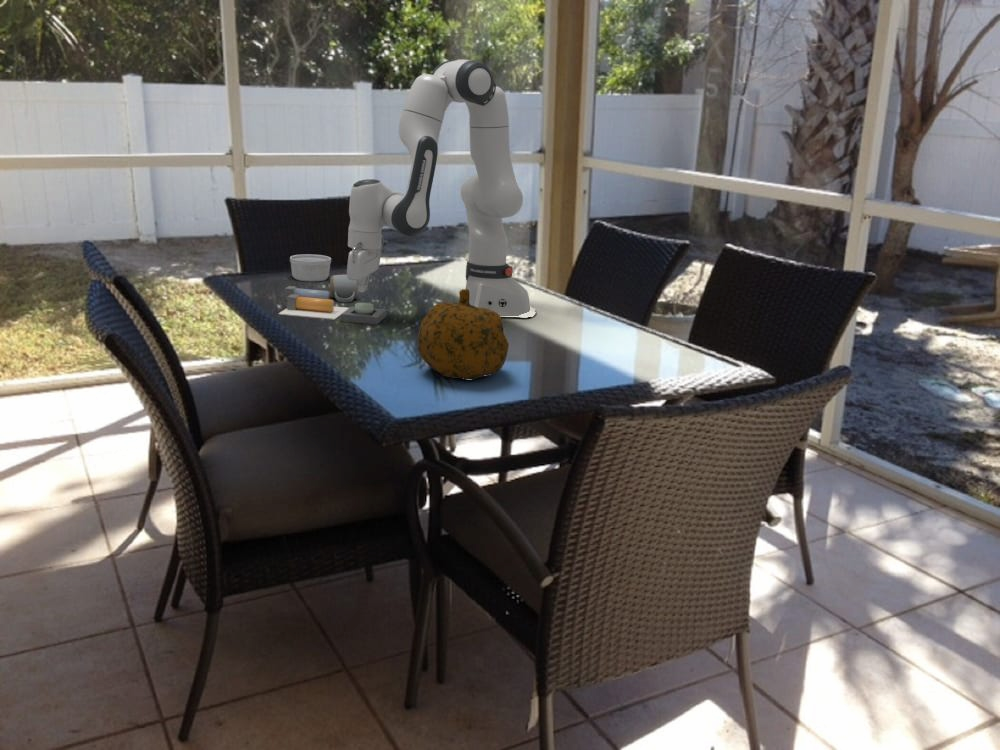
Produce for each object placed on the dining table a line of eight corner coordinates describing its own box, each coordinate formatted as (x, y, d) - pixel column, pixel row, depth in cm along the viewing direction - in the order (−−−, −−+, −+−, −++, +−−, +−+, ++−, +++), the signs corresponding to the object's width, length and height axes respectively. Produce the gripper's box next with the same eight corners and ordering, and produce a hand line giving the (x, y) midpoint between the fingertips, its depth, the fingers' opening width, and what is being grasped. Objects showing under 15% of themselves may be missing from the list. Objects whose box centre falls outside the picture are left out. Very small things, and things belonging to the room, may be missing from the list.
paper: (349, 308, 271) (349, 307, 271) (334, 319, 257) (334, 318, 257) (295, 303, 273) (295, 302, 272) (278, 314, 259) (278, 313, 259)
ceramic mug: (329, 295, 286) (329, 271, 284) (355, 295, 288) (356, 271, 286) (331, 303, 277) (332, 278, 275) (358, 303, 279) (359, 279, 276)
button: (375, 311, 262) (375, 303, 261) (370, 315, 257) (370, 307, 257) (357, 309, 263) (357, 302, 262) (352, 313, 258) (352, 305, 257)
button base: (386, 316, 265) (386, 309, 264) (376, 324, 255) (377, 317, 255) (351, 313, 266) (351, 306, 265) (340, 321, 256) (341, 314, 256)
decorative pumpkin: (436, 387, 203) (441, 294, 199) (406, 368, 221) (410, 282, 217) (521, 385, 211) (528, 295, 207) (485, 366, 229) (490, 284, 226)
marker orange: (334, 310, 266) (334, 298, 265) (330, 313, 263) (330, 300, 262) (291, 306, 267) (291, 294, 266) (287, 309, 264) (287, 296, 263)
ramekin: (298, 273, 316) (298, 252, 314) (336, 276, 314) (336, 255, 312) (284, 280, 303) (283, 259, 301) (323, 284, 302) (323, 262, 300)
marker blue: (329, 301, 278) (329, 289, 277) (326, 304, 275) (326, 292, 274) (289, 297, 280) (289, 286, 278) (284, 300, 276) (284, 288, 275)
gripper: (365, 247, 244) (363, 299, 248) (385, 237, 263) (383, 285, 267) (341, 244, 245) (340, 297, 248) (363, 234, 264) (361, 283, 268)
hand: (362, 291), depth 258 cm, fingers closed
